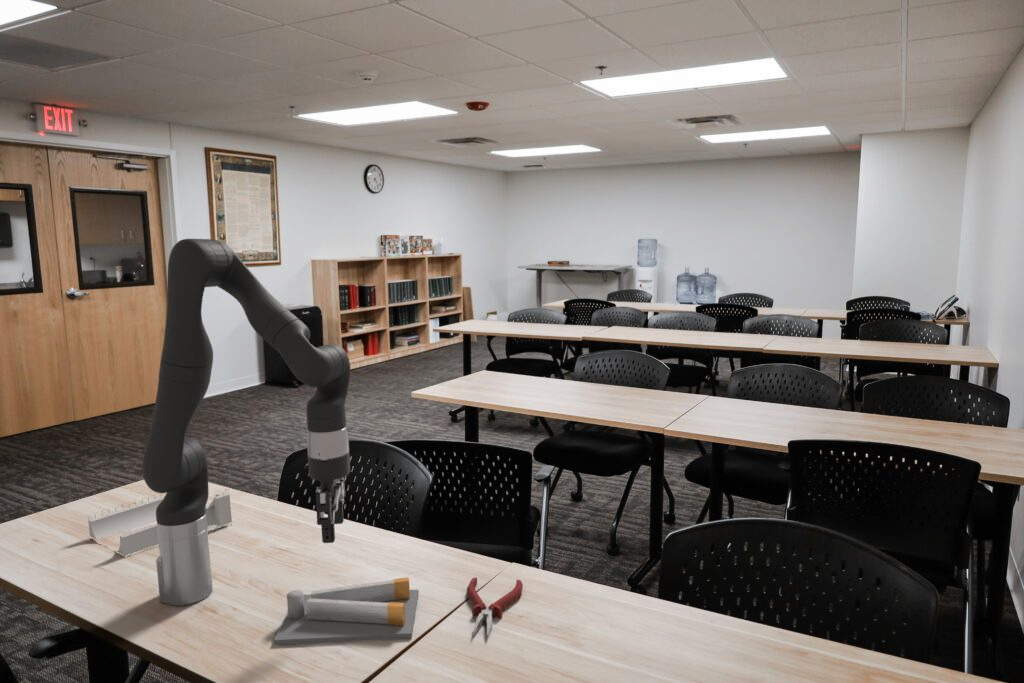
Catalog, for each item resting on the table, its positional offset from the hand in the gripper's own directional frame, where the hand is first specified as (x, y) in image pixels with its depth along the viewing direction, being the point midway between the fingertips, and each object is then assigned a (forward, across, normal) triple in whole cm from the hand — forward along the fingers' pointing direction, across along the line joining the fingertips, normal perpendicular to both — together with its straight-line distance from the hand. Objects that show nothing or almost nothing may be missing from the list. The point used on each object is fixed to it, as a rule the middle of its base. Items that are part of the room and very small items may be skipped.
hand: (333, 532), depth 129 cm
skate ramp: (+18, -46, -54) cm, 73 cm away
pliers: (+18, -2, +28) cm, 34 cm away
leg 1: (+17, -3, +4) cm, 17 cm away
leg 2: (+17, +3, +4) cm, 17 cm away
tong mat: (+18, 0, +2) cm, 18 cm away
